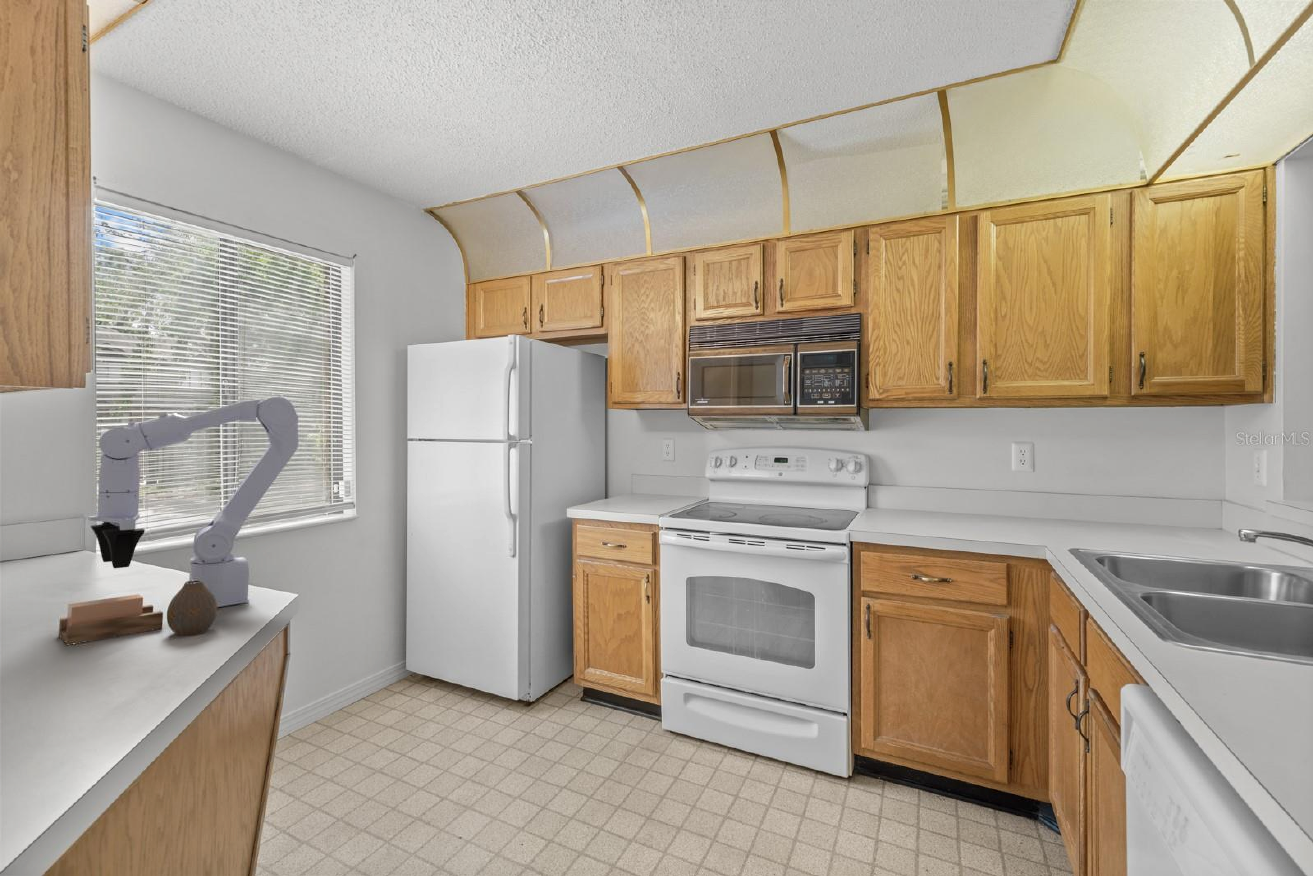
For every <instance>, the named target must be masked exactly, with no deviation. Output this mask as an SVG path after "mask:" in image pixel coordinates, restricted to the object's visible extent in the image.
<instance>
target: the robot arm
mask: <svg viewBox="0 0 1313 876" xmlns="http://www.w3.org/2000/svg"><path fill="white" fill-rule="evenodd" d="M257 420H258V421H259V422H260V424H261V426H262V427H263V428H264V430H265V431H266V436H267V438H268V442H269V446H268V447H267V448H266V450H265V452H264V453H263V454H262V455H261V457H260V458H259V459H258V461H257V462H256V463H255V465H254V466H253V467H252V469H251V471H249V473H248V474H247V476H246V477H245V478H244V479H243V481H242V482H241V483H240V485H239V486H238V487H237V489H236V490H235V492H234V493H233V494H232V495H231V497H230V498H229V499H228V500H227V501H226V503H225V505H224V506H223V508H222V509H221V510H220V511H219V512H218V513H217V514H216V515H215V516H214V518H213V519H212V520H211V521H210V522H209V523H208V524H206V525H204V526H202V527H201V528H200V529H198V531H197V532H196V533H195V535H194V538H193V546H192V547H193V548H192V549H193V552H194V554H195V555H194V556H192V557H191V558H189V559H190V560H189V579H188V581H192V580H201V581H203V583H204V585H205V586H206V588H207V589H208V590H209V591H210V592H211V593H212V594H213V595H214V597H215V599H216V602H217V608H221V607H227V606H233V605H239V604H243V603H244V604H245V603H249V602H250V599H248V598H249V578H250V570H249V569H250V568H249V563H248V560H247V559H246V557H244V556H243V557H241V556H240V557H235V554H234V553H231V552H232V551H233V548H234V543H235V539H236V537H237V535H238V534H239V533H240V531H241V529H242V526H243V525H244V523H245V522H246V520H247V518H248V517H249V516H250V515H251V513H252V512H253V510H254V508H256V506H257V505H258V504H259V502H260V501H261V500H262V498H263V497H264V495H265V494H266V493H267V491H268V490H269V488H270V487H271V486H272V484H273V483H274V481H275V480H276V479H277V477H278V476H279V475H280V473H281V472H282V471H283V470H284V468H285V467H286V465H287V464H288V463H289V461H290V460H291V458H292V457H293V456H294V455H295V453H296V452H297V450H298V448H299V427H298V426H299V416H298V414H297V412H296V408H295V406H294V405H293V403H292V402H291V401H290V400H289V399H287V398H284V397H282V396H270V397H267V398H265V399H264V400H263V398H259V399H250V400H242V401H239V402H238V401H237V402H235V403H232V404H228V405H224V406H221V407H218V408H217V407H216V408H214V409H209V410H207V411H203V412H201V413H197V414H194V415H190V416H184V415H182V414H178V413H175V412H173V413H170V414H169V413H168V412H165V411H164V412H162V413H159V414H158V416H157V417H154V418H150V419H147V420H143V421H139V422H135V421H134V420H132V421H129V422H128V423H127V426H128V427H125V426H115V427H114V428H111V429H108V430H106V431H105V432H104V433H103V434H102V435H101V436H100V438H99V441H98V446H99V449H100V451H101V452H102V454H101V456H100V459H99V461H100V467H99V468H98V469H99V470H98V471H99V473H98V474H99V475H98V489H97V492H98V493H97V494H98V495H97V496H98V497H97V511H96V513H97V515H89V516H88V517H87V520H88V521H91V522H94V521H95V522H102V523H101V524H92V525H90V528H91V530H92V531H93V532H94V534H95V537H96V538H97V542H98V545H99V546H98V547H99V549H100V551H99V552H100V555H101V556H100V557H101V559H102V561H103V563H109V562H110V563H111V565H112V567H113V568H114V569H122V568H123V569H124V568H129V567H130V565H131V564H132V563H131V562H132V560H133V555H134V553H135V551H136V547H137V545H138V543H139V541H140V539H141V538H142V537H143V535H144V534H145V533H146V532H145V529H144V528H136V522H137V521H138V520H139V519H140V513H139V504H140V483H141V482H140V480H141V467H140V466H139V465H140V454H139V453H140V452H141V451H146V452H151V451H156V450H159V449H162V448H166V447H170V446H174V445H177V444H180V443H183V442H186V441H188V440H189V439H190V437H191V435H192V434H193V432H196V431H201V430H205V429H209V428H211V427H215V426H220V425H223V424H227V423H231V422H232V423H233V422H235V421H236V422H237V421H243V422H252V423H257Z"/></svg>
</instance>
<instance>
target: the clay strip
mask: <svg viewBox="0 0 1313 876" xmlns="http://www.w3.org/2000/svg"><path fill="white" fill-rule="evenodd" d="M143 602H144V597H143V596H141V595H140V594H131V595H124V596H118V597H117V596H116V597H110V598H102V599H95V600H94V599H93V600H90V601H88V600H87V601H80V602H74V603H73V602H72V603H68V604H67V617H66V618H67V626H71V625H77V624H83V623H89V622H96V621H102V620H108V619H114V618H121V617H127V616H133V615H139V614H142V610H143V606H144V603H143Z"/></svg>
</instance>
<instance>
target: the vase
mask: <svg viewBox="0 0 1313 876" xmlns="http://www.w3.org/2000/svg"><path fill="white" fill-rule="evenodd" d="M166 611H167V612H166V621H167V624H168V627H169V629H170V630H171V631H172V632H173V633H174V634H176V635H178V636H193V635H199V634H203V633H204V632H206V631H208V629H209V628H211V626H212V625H213V623H214V621H215V620H216V617H217V614H218V613H217V612H218V607H217V602H216V599H215V597H214V595H213V594H212V593H211V592H210V591H209V590H208V589H207V588H206V586H205V585H204V583H203V581H201V580H192V581H189V580H188V581H185V582H184V584H183V585H182V587H181V589H180V590H179V591H178V592H177V593H176V594H175V595H174V596H173V597H172V599H171V600H170V602H169V605H168V606H167V610H166Z"/></svg>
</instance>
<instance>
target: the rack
mask: <svg viewBox="0 0 1313 876" xmlns="http://www.w3.org/2000/svg"><path fill="white" fill-rule="evenodd" d="M163 616H164V612H163V611H161V610H160V611H154V605H153V604H149V605H147V604H146V605H143V610H142V614H139V615H133V616H127V617H121V618H114V619H108V620H102V621H96V622H89V623H83V624H77V625H71V626H67V617H62V618H59V623H58V624H59V625H58V626H59V628H58V636H59V637H60V636H61V637H60V638H61V640H62V641H63V640H64V641H66V643H67V644H72V645H74V644H73V643H77V644H80V643H79V642H83V643H85V642H84V641H89V642H93V640H94V641H99V639H100V640H105V639H110V638H109V637H111V638H114V637H113V636H117V637H122V636H127V634H128V635H132V633H133V634H138V633H137V632H139V633H144V632H148V630H150V631H153V630H152V629H156V630H160V629H159V628H162V629H163V624H164V623H163V621H164V619H163V618H164V617H163ZM104 638H105V639H104ZM64 641H63V642H64ZM66 643H65V644H66ZM67 644H66V645H67Z"/></svg>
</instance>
